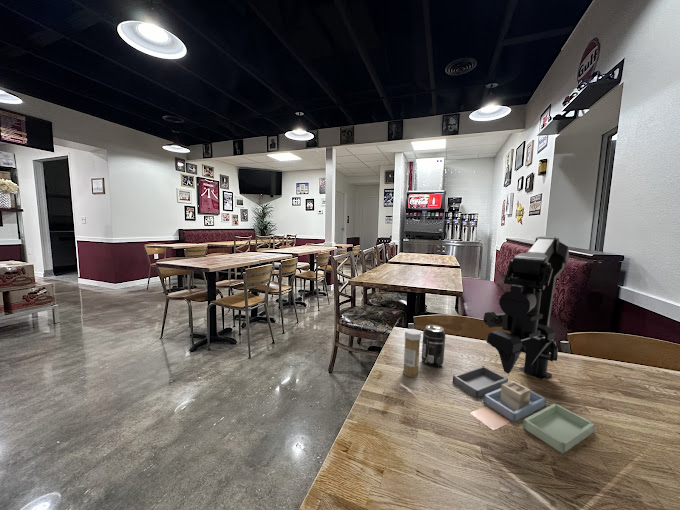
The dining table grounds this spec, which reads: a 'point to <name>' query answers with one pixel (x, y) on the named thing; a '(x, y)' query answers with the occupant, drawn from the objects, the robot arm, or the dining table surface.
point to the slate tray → (514, 415)
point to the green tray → (558, 427)
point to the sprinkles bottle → (411, 352)
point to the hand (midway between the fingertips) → (518, 368)
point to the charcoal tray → (479, 381)
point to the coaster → (489, 418)
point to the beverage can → (433, 345)
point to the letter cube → (514, 395)
